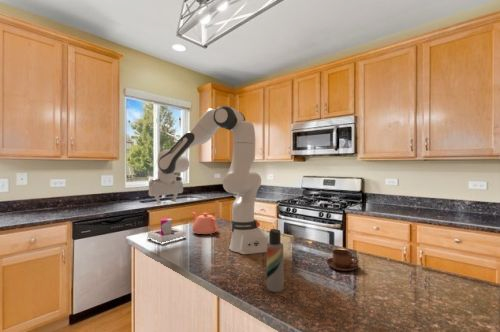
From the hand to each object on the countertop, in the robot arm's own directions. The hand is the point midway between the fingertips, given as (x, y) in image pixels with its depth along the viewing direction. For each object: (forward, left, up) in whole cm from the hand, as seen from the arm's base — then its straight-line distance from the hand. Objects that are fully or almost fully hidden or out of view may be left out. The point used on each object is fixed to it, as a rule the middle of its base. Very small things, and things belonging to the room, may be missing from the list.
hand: (166, 202), depth 147 cm
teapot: (-20, -12, -21) cm, 31 cm away
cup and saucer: (-82, +47, -21) cm, 97 cm away
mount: (0, 0, -21) cm, 21 cm away
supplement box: (0, 0, -21) cm, 21 cm away
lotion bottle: (-52, +63, -21) cm, 84 cm away
